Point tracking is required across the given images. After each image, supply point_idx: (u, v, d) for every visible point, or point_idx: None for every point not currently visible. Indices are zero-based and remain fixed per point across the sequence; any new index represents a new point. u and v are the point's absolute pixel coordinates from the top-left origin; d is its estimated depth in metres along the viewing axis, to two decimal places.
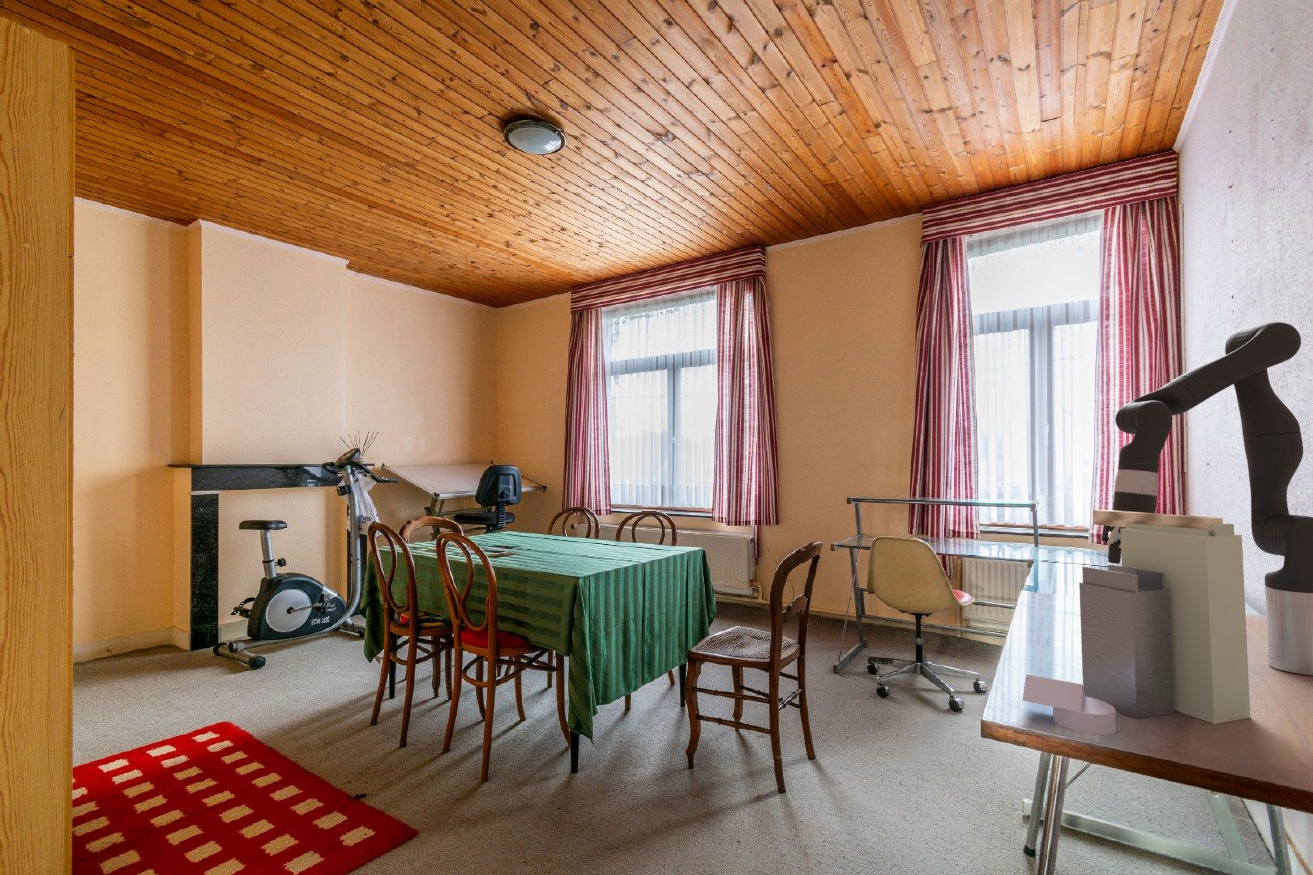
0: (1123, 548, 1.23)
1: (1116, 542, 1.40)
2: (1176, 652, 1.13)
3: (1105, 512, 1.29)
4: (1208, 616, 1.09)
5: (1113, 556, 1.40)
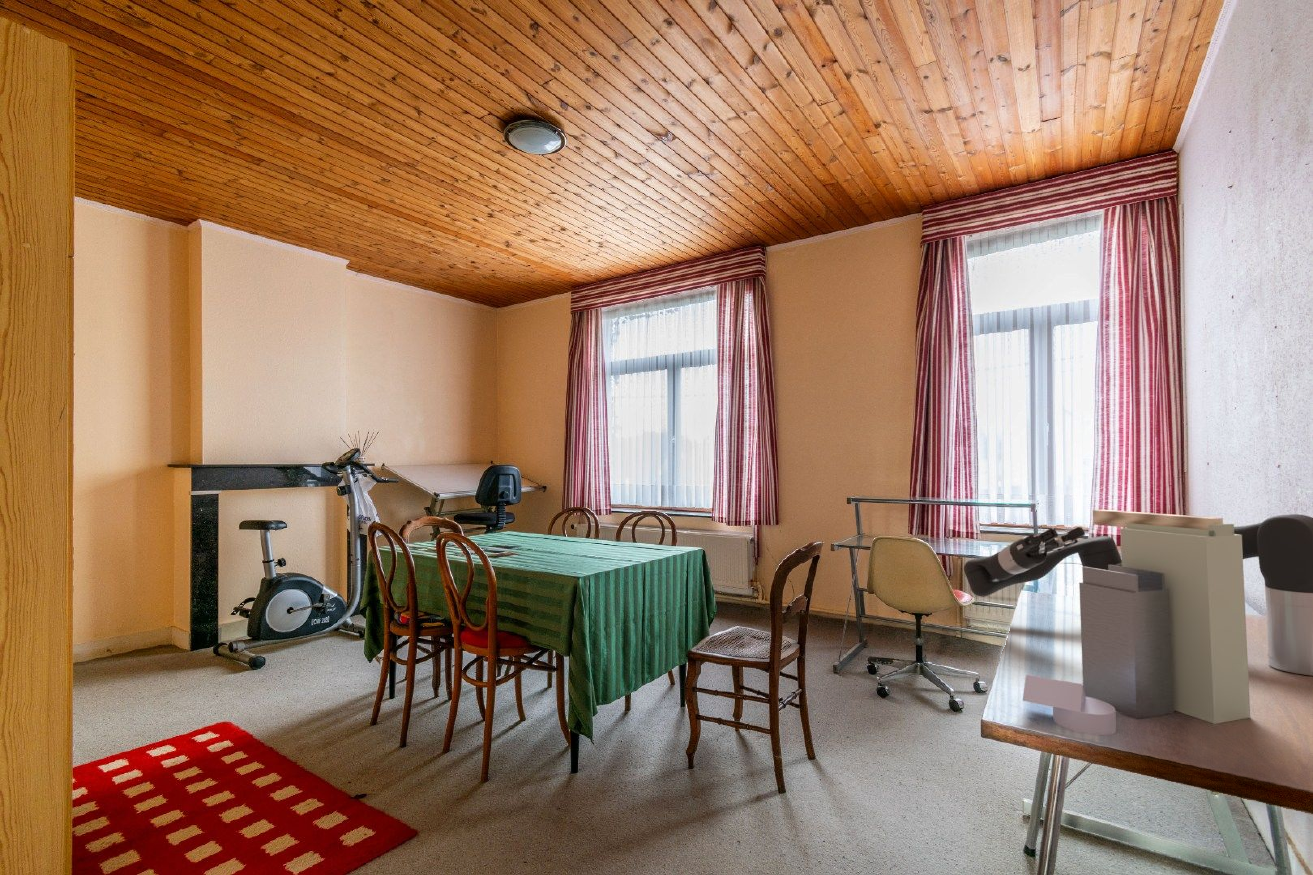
0: (1123, 548, 1.23)
1: None
2: (1176, 652, 1.13)
3: (1105, 512, 1.29)
4: (1208, 616, 1.09)
5: None
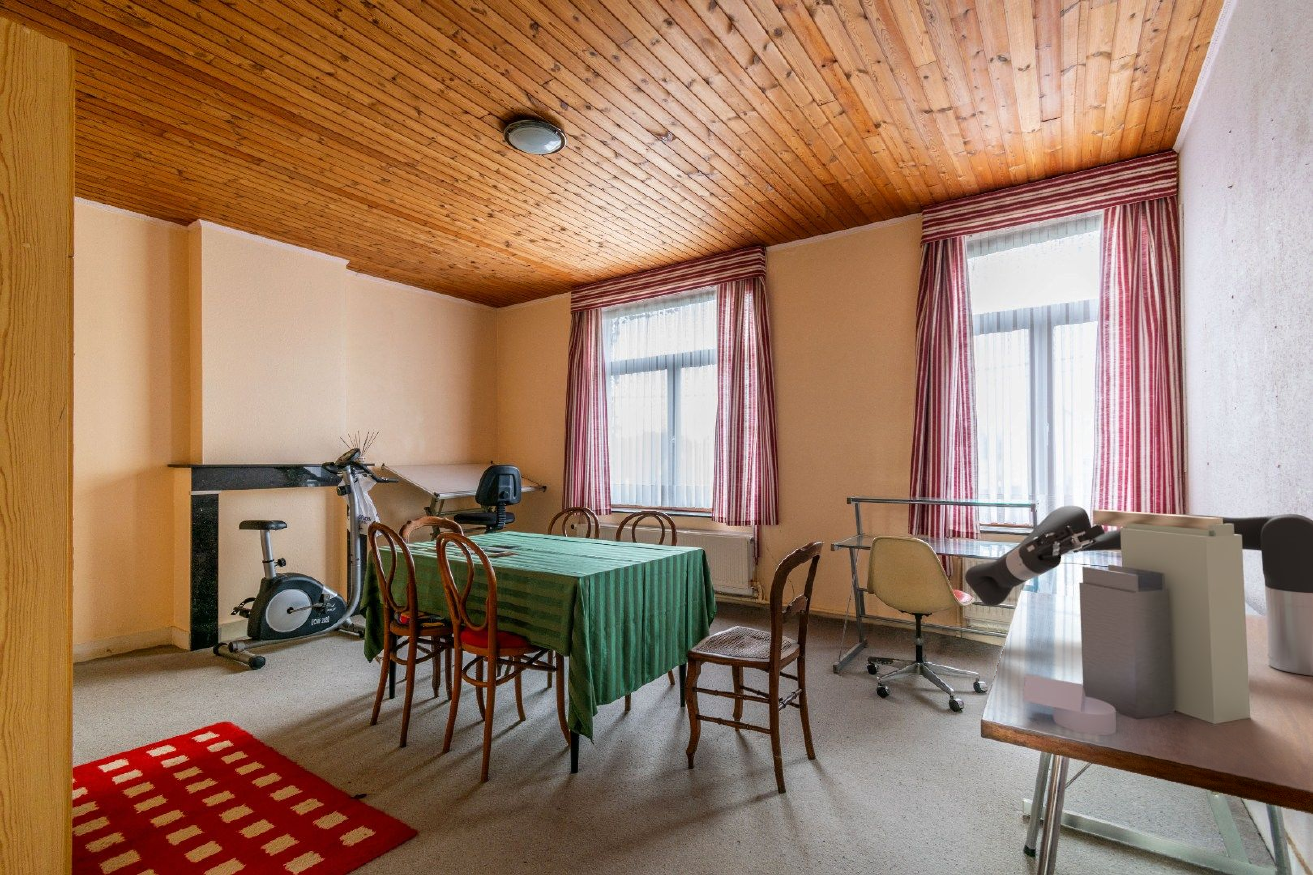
0: (1123, 548, 1.23)
1: None
2: (1176, 652, 1.13)
3: (1105, 512, 1.29)
4: (1208, 616, 1.09)
5: None
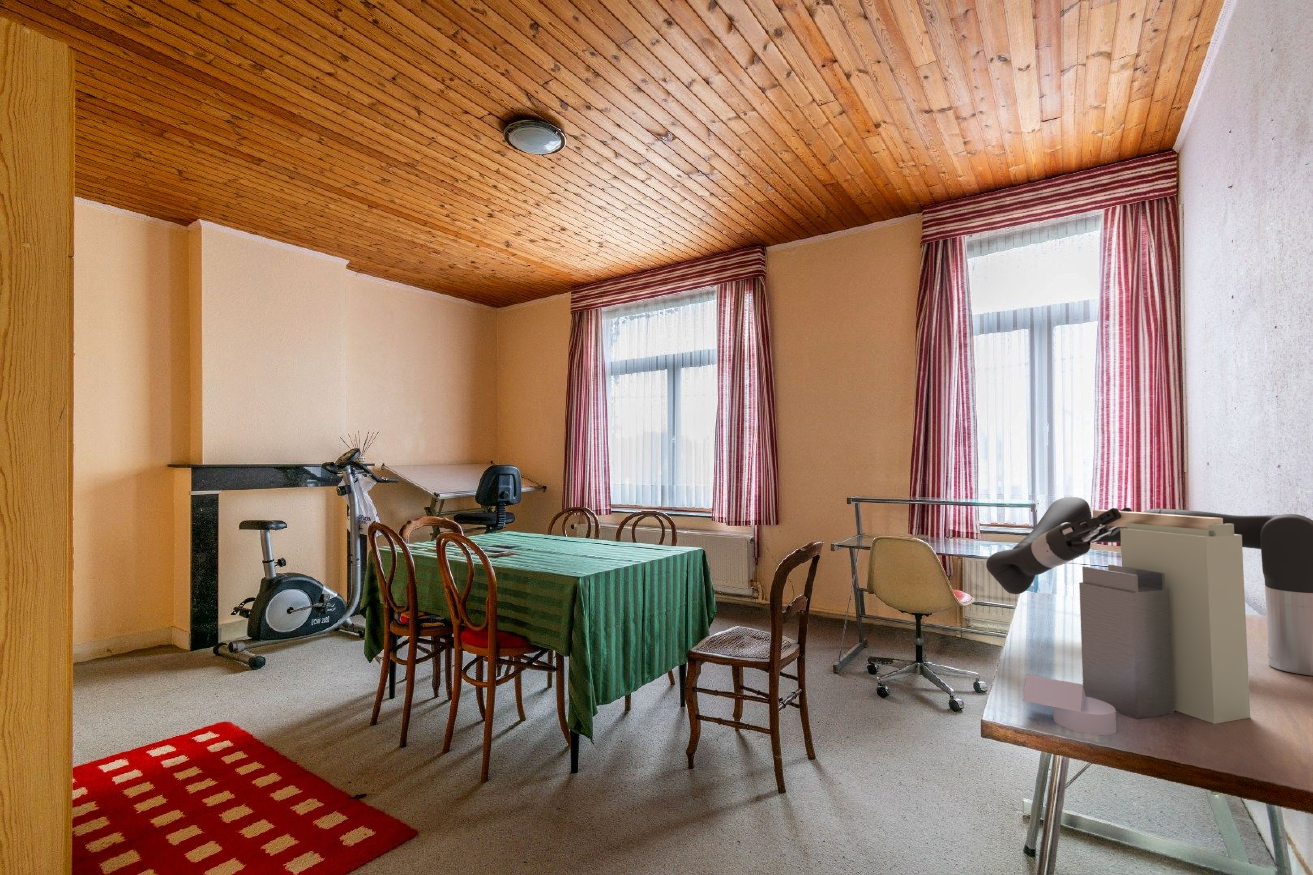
0: (1123, 548, 1.23)
1: None
2: (1176, 652, 1.13)
3: None
4: (1208, 616, 1.09)
5: None
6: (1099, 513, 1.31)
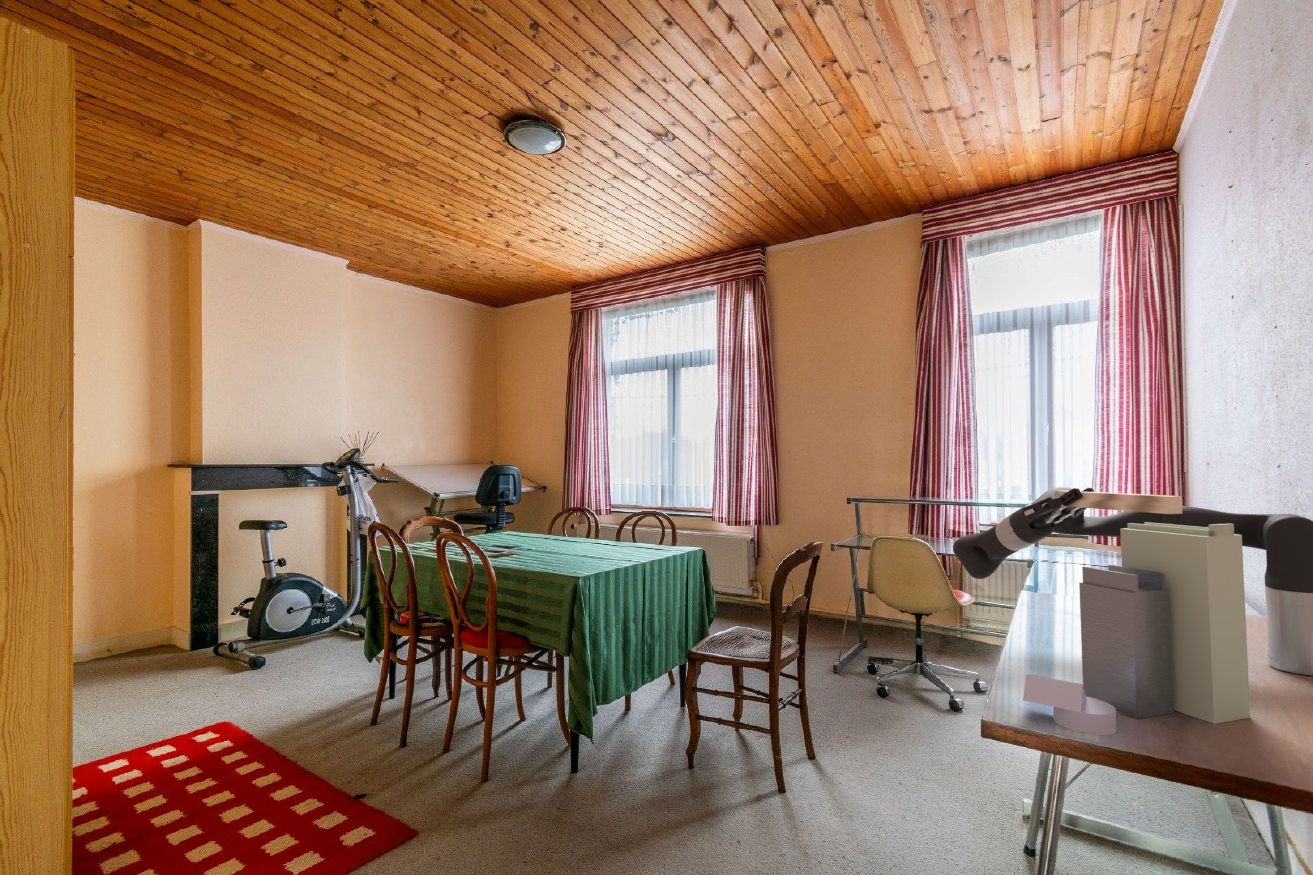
0: (1123, 548, 1.23)
1: None
2: (1176, 652, 1.13)
3: None
4: (1208, 616, 1.09)
5: None
6: (1061, 494, 1.27)
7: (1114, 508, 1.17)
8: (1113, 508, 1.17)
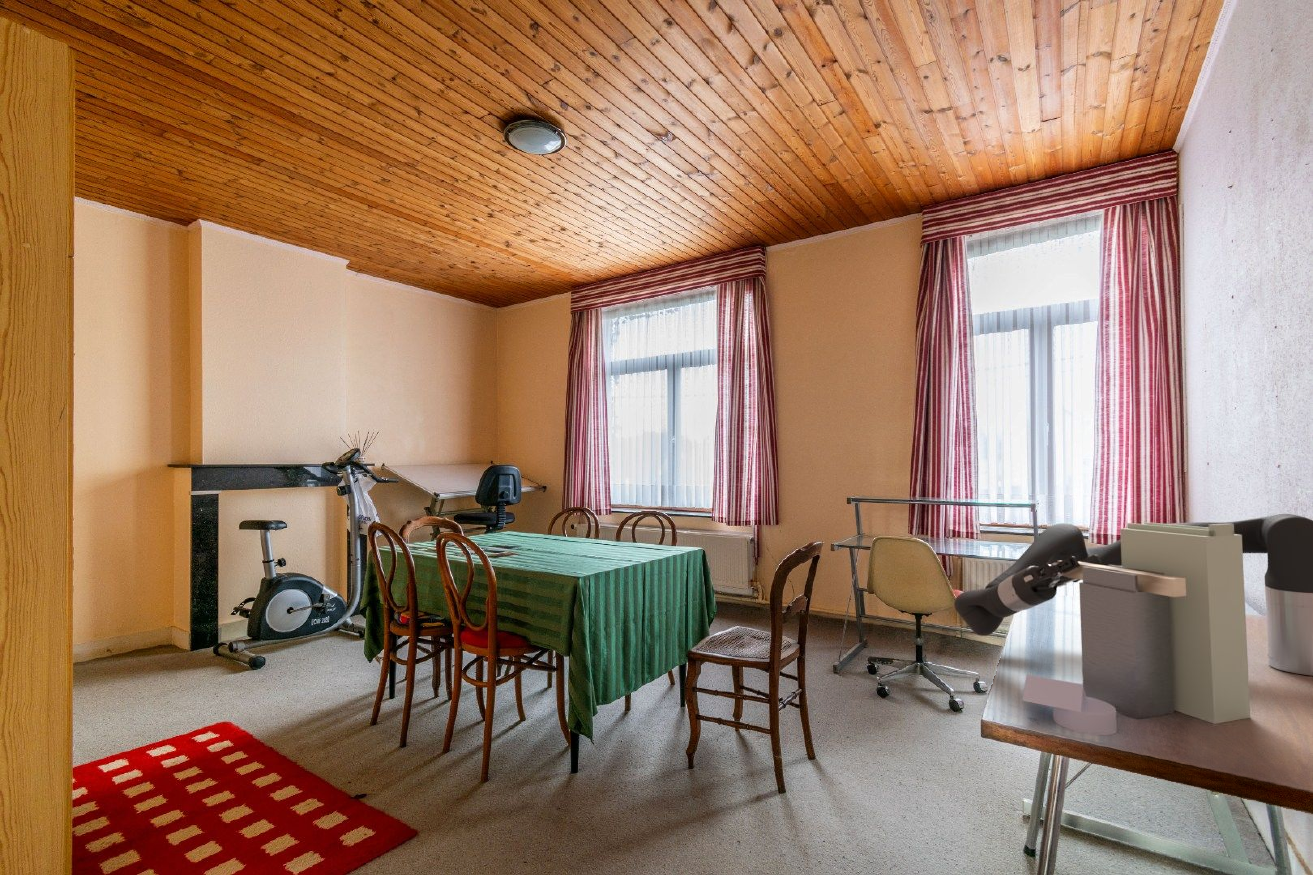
0: (1123, 548, 1.23)
1: None
2: (1176, 652, 1.13)
3: None
4: (1208, 616, 1.09)
5: None
6: None
7: None
8: None
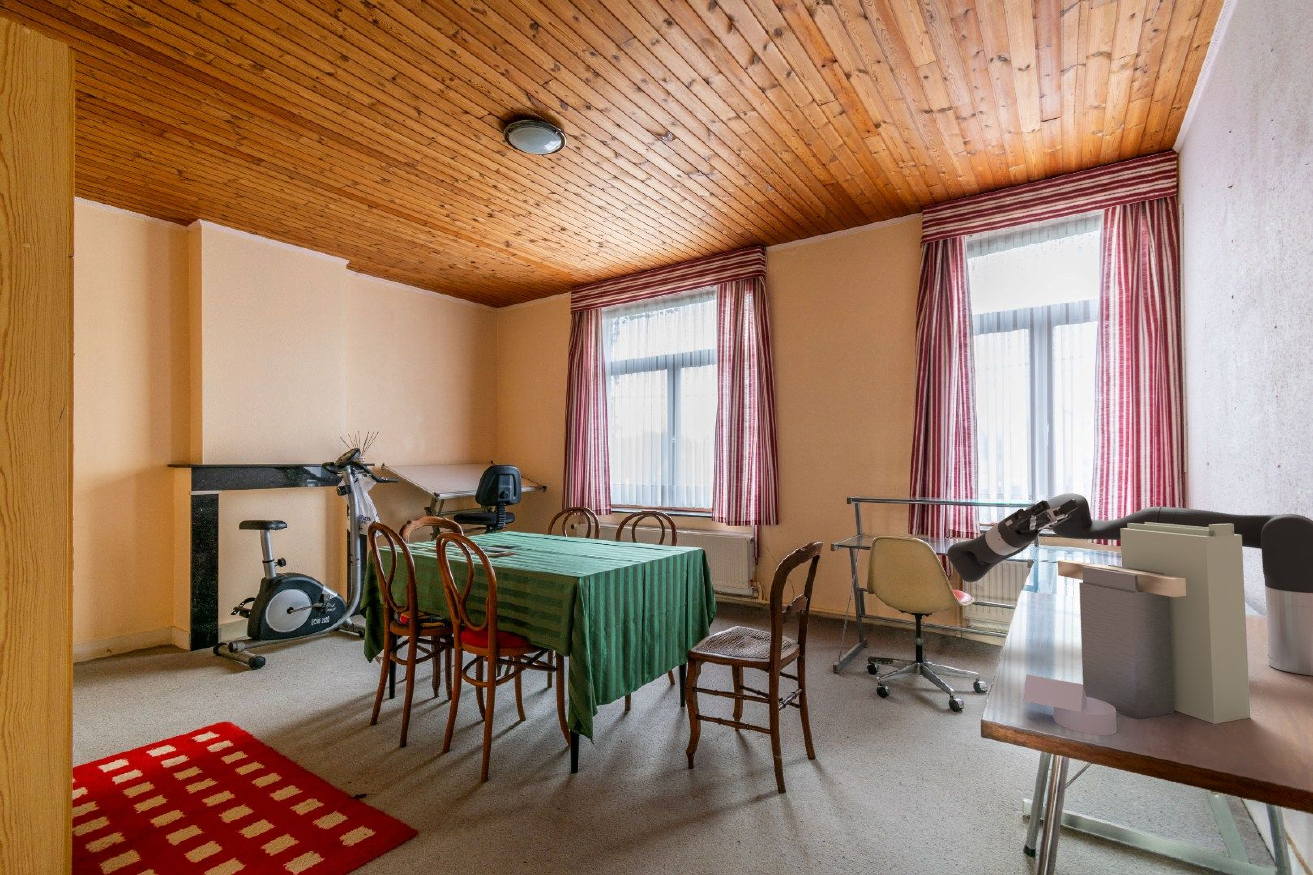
0: (1123, 548, 1.23)
1: None
2: (1176, 652, 1.13)
3: (1070, 564, 1.26)
4: (1208, 616, 1.09)
5: None
6: (1064, 564, 1.27)
7: None
8: None
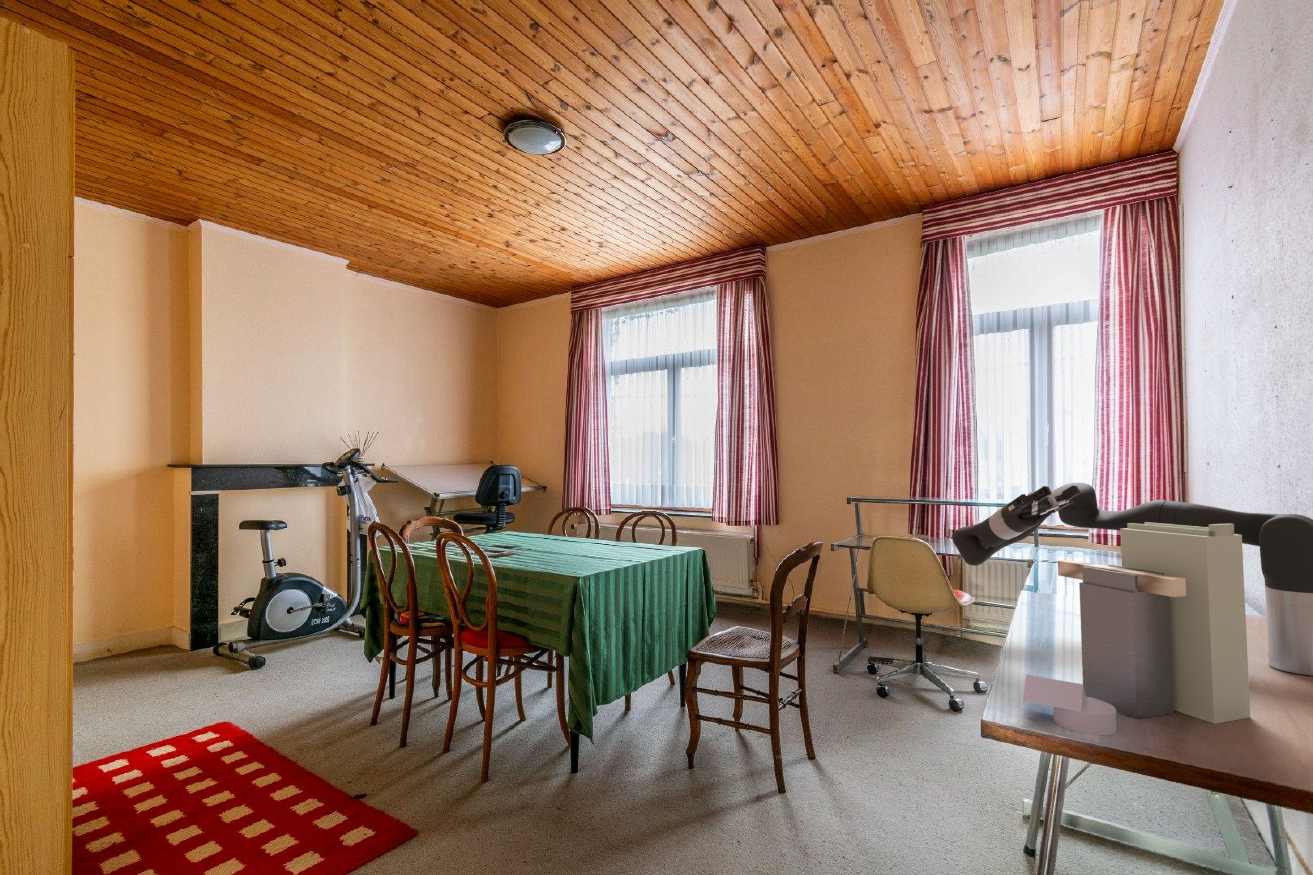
0: (1123, 548, 1.23)
1: None
2: (1176, 652, 1.13)
3: (1070, 564, 1.26)
4: (1208, 616, 1.09)
5: None
6: (1064, 564, 1.27)
7: None
8: None
